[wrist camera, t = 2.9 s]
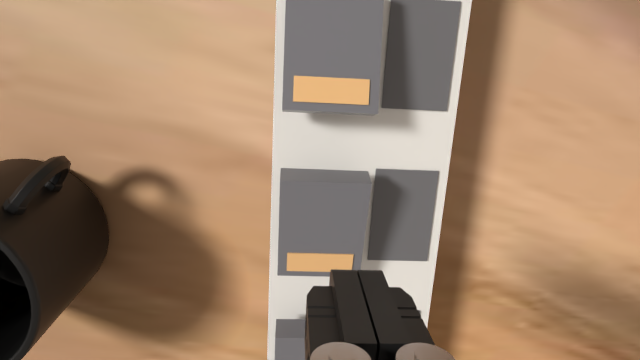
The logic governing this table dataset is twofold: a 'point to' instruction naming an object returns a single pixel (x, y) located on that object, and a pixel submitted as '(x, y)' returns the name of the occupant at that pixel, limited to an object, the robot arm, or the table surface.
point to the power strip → (382, 151)
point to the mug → (44, 247)
